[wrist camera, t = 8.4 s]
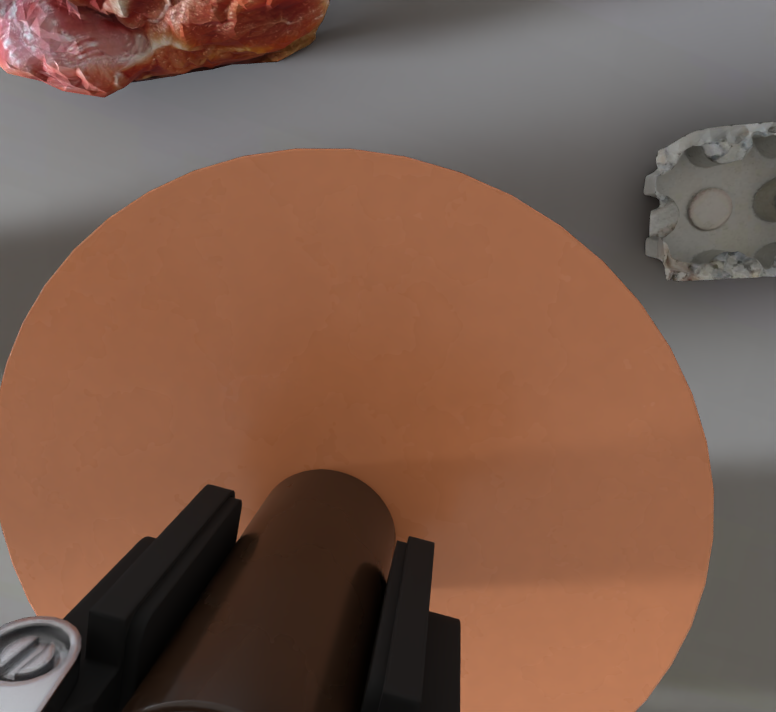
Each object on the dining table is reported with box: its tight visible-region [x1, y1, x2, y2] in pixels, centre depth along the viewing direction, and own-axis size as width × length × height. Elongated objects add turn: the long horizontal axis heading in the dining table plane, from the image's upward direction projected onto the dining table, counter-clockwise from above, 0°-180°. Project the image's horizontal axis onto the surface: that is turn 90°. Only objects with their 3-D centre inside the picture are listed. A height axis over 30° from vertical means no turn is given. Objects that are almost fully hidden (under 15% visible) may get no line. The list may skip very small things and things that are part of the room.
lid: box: [0, 149, 714, 712], centre depth 11 cm, size 17×17×8 cm
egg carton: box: [643, 122, 776, 281], centre depth 30 cm, size 11×8×4 cm
